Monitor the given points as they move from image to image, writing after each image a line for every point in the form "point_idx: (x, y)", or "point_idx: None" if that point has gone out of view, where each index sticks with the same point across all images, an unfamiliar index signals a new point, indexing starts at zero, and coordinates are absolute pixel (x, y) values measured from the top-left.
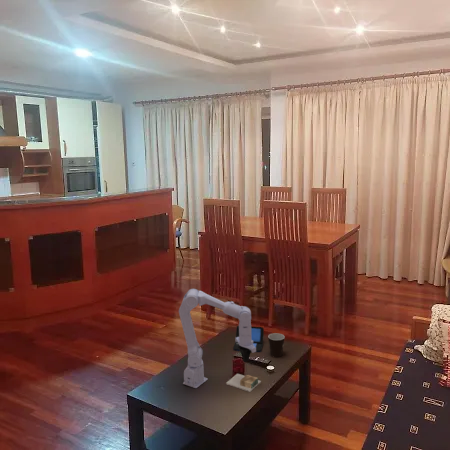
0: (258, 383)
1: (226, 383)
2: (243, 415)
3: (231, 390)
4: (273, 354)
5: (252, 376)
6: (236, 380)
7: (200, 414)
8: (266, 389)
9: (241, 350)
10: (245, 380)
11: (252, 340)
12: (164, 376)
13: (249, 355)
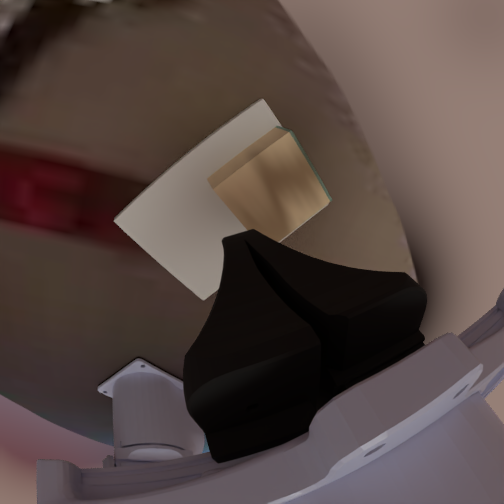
0: (280, 125)
1: (205, 297)
2: (413, 267)
3: None
4: None
5: (254, 160)
6: (196, 245)
7: None
8: (342, 109)
9: (317, 410)
10: (281, 222)
11: (438, 404)
12: (103, 436)
13: (297, 255)
